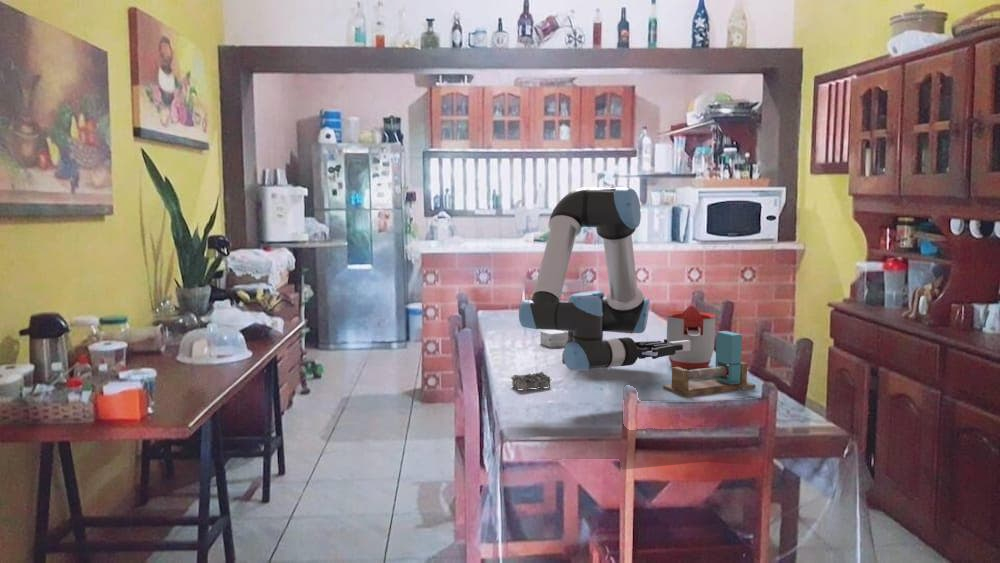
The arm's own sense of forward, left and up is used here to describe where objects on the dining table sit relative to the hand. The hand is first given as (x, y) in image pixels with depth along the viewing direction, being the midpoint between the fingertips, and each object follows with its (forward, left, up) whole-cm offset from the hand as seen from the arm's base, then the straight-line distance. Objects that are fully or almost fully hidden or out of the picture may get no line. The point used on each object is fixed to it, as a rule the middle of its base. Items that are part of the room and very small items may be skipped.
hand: (688, 345), depth 212 cm
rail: (+8, +1, -13) cm, 15 cm away
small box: (-15, +73, -13) cm, 76 cm away
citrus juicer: (+16, +27, -13) cm, 34 cm away
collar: (+14, +2, -12) cm, 19 cm away
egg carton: (-42, +15, -14) cm, 46 cm away
